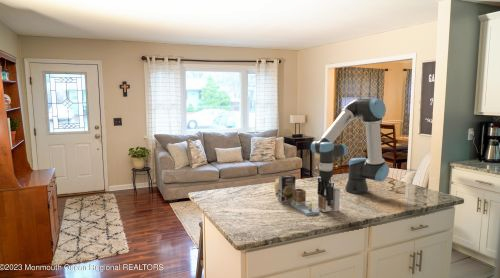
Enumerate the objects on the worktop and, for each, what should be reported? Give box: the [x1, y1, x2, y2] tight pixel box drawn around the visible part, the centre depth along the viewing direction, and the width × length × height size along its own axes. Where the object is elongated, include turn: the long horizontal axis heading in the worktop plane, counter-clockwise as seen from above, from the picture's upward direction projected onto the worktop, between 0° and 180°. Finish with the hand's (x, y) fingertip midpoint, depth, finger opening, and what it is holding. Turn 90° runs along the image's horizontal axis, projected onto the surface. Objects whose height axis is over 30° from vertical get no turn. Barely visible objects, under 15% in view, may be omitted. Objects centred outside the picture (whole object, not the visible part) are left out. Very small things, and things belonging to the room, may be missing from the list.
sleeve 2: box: [317, 194, 333, 213], centre depth 191 cm, size 6×6×8 cm
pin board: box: [289, 202, 320, 217], centre depth 194 cm, size 8×20×6 cm, turn 19°
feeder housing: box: [317, 181, 341, 212], centre depth 198 cm, size 3×18×13 cm, turn 19°
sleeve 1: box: [293, 188, 307, 205], centre depth 199 cm, size 6×6×8 cm
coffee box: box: [277, 174, 297, 204], centre depth 208 cm, size 9×6×16 cm
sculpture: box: [273, 177, 279, 194], centre depth 225 cm, size 11×12×11 cm
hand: (324, 209), depth 191 cm, fingers closed on sleeve 2, 6 cm apart
